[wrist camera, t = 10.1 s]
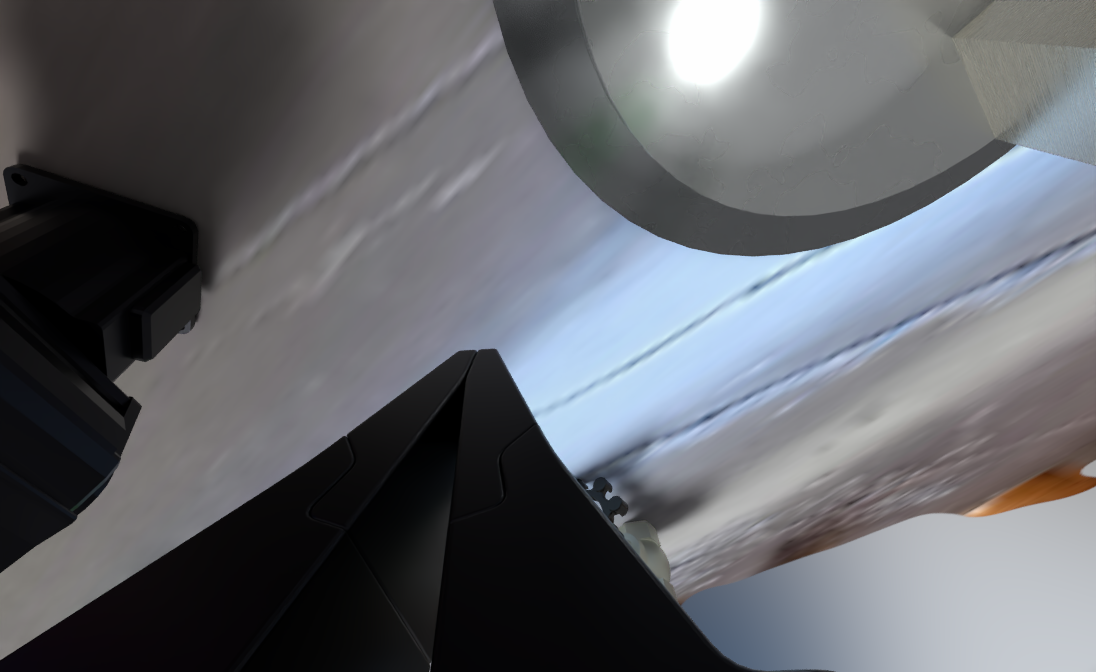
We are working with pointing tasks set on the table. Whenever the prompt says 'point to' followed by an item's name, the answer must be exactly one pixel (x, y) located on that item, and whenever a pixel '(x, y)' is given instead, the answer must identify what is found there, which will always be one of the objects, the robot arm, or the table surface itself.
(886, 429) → the table surface
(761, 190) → the grey stand
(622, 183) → the grey round disc
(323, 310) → the table surface
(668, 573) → the valve
